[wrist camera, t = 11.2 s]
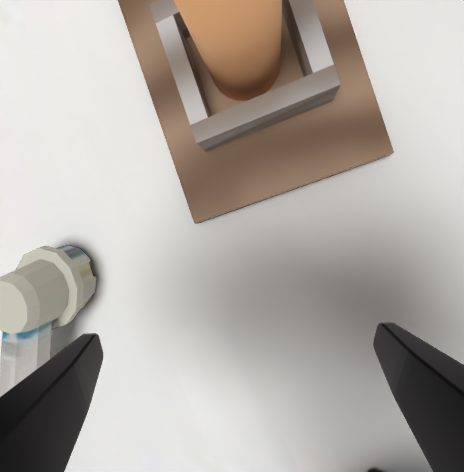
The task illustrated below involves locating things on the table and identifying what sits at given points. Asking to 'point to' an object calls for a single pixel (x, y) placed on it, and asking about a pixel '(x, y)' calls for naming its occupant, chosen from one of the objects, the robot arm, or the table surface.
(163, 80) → the jig
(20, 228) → the table surface
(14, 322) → the grey cylindrical tool
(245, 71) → the ball
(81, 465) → the table surface
